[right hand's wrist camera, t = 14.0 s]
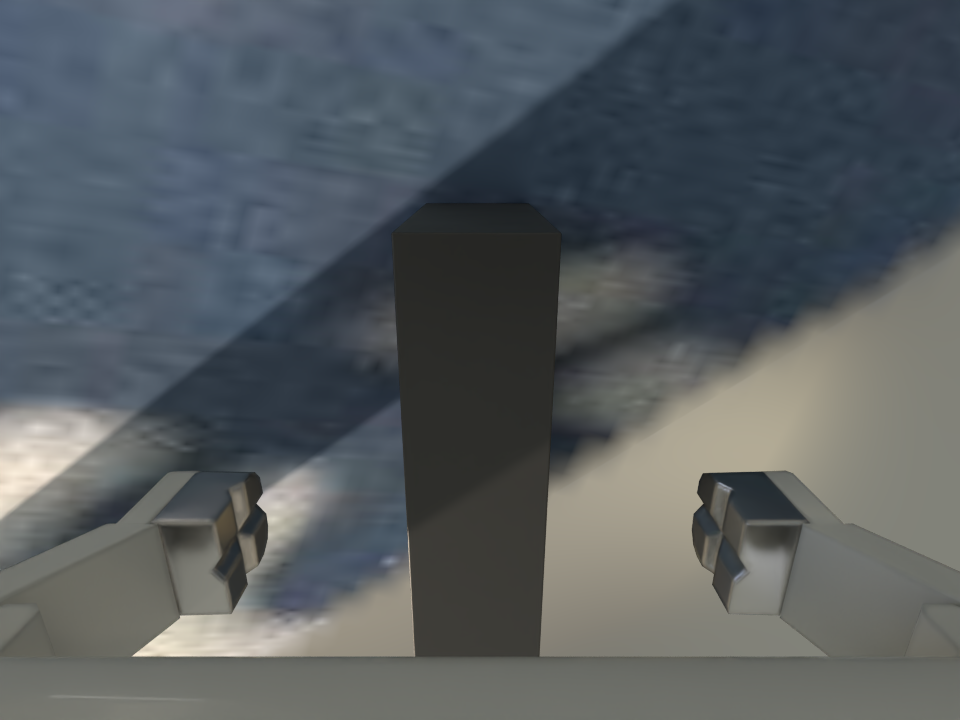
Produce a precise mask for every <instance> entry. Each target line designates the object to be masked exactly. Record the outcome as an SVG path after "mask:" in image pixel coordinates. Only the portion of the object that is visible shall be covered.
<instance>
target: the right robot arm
mask: <svg viewBox="0 0 960 720" xmlns="http://www.w3.org/2000/svg"><path fill="white" fill-rule="evenodd" d="M262 494H263V491H262V486H261V481H260V477H259V476H258V475H257V474H256V473H255V472H215V471H202V472H200V471H174V472H169V473H167V474H166V475H165V476H164V477H163V478H162V479H161V480H160V481H159V482H158V483H157V484H156V485H155V486H154V487H153V488H152V489H151V490H150V491H149V492H148V493H147V494H146V495H145V496H144V497H143V498H142V499H141V500H140V501H139V502H138V503H137V504H136V505H135V506H134V507H133V508H132V509H131V510H130V511H129V512H128V513H127V514H126V515H125V516H124V517H123V518H122V519H121V520H120V521H119V522H118V523H116V524H105V525H103V526H101V527H99V528H96V529H94V530H92V531H90V532H87V533H85V534H83V535H81V536H78V537H76V538H74V539H72V540H70V541H67V542H65V543H63V544H61V545H58V546H56V547H54V548H52V549H49V550H47V551H45V552H43V553H40V554H38V555H36V556H34V557H31V558H29V559H27V560H25V561H23V562H20V563H18V564H16V565H14V566H11V567H9V568H7V569H5V570H2V571H0V720H960V572H959V571H957V570H955V569H953V568H951V567H948V566H946V565H944V564H942V563H939V562H937V561H935V560H933V559H930V558H928V557H926V556H924V555H922V554H919V553H917V552H915V551H913V550H910V549H908V548H906V547H904V546H902V545H899V544H897V543H895V542H893V541H890V540H888V539H886V538H884V537H881V536H879V535H877V534H875V533H873V532H870V531H868V530H866V529H864V528H861V527H859V526H857V525H855V524H844V523H843V522H842V521H841V520H839V519H838V518H837V517H836V516H835V515H834V514H833V513H832V512H831V511H830V510H829V509H828V508H827V507H826V506H825V505H824V504H823V503H822V502H821V501H820V500H819V499H818V498H817V497H816V496H815V495H814V494H813V493H812V492H811V491H810V490H809V489H808V488H807V487H806V486H805V485H804V484H803V483H802V482H801V481H800V480H799V479H798V478H797V477H796V476H795V475H794V474H793V473H791V472H788V471H764V472H729V473H703V474H702V476H701V478H700V481H699V486H698V491H697V494H698V495H699V497H700V498H701V500H702V502H703V503H704V504H703V505H702V506H701V507H700V508H699V509H698V510H697V511H696V512H695V513H694V516H693V524H692V536H693V545H694V548H695V552H696V555H697V557H698V559H699V561H700V563H701V565H702V566H703V567H704V568H706V569H707V570H709V571H710V572H712V573H713V574H714V577H713V583H712V585H713V587H714V589H715V590H716V592H717V594H718V596H719V598H720V599H721V601H722V603H723V605H724V606H725V608H726V610H727V612H728V614H746V615H780V618H781V619H782V620H783V621H785V622H786V623H787V624H788V625H790V626H791V627H792V628H793V629H795V630H796V631H797V632H799V633H800V634H801V635H802V636H804V637H805V638H806V639H807V640H809V641H810V642H811V643H812V644H814V645H815V646H816V647H817V648H819V649H820V650H821V651H823V652H824V653H825V654H826V655H828V656H829V657H131V656H133V655H134V654H135V653H136V652H138V651H139V650H140V649H141V648H143V647H144V646H145V645H146V644H148V643H149V642H150V641H152V640H153V639H154V638H155V637H157V636H158V635H159V634H160V633H162V632H163V631H164V630H166V629H167V628H168V627H169V626H171V625H172V624H173V623H174V622H176V621H177V620H178V619H179V618H180V615H213V614H232V612H233V610H234V608H235V607H236V605H237V603H238V601H239V599H240V598H241V596H242V594H243V592H244V590H245V589H246V587H247V585H248V583H247V577H246V574H247V573H248V572H250V571H251V570H253V569H254V568H256V567H257V566H258V565H259V563H260V561H261V559H262V557H263V555H264V552H265V548H266V543H267V539H268V523H267V516H266V513H265V512H264V511H263V510H262V509H261V508H260V507H259V506H258V505H257V504H256V503H257V502H258V500H259V498H260V497H261V495H262Z"/></svg>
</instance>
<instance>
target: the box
mask: <svg viewBox="0 0 960 720" xmlns="http://www.w3.org/2000/svg"><path fill="white" fill-rule="evenodd" d="M560 252H561V233H560V232H559V231H558V230H557V229H556V228H555V227H554V226H553V225H552V224H550V223H549V222H548V221H547V220H546V219H545V218H544V217H543V216H542V215H541V214H540V213H538V212H537V211H536V210H535V209H534V208H533V207H532V206H531V205H530V204H526V203H426V204H425V205H424V206H423V207H422V208H420V209H419V210H418V211H417V212H416V213H415V214H413V215H412V216H411V217H410V218H409V219H408V220H406V221H405V222H404V223H403V224H402V225H401V226H399V227H398V228H397V229H396V230H395V231H394V232H392V253H393V272H394V290H395V309H396V327H397V346H398V364H399V383H400V402H401V420H402V439H403V457H404V476H405V494H406V513H407V531H408V550H409V569H410V587H411V606H412V624H413V643H414V657H539V654H540V635H541V616H542V597H543V578H544V558H545V539H546V520H547V501H548V482H549V463H550V444H551V424H552V405H553V386H554V367H555V348H556V329H557V310H558V290H559V271H560Z"/></svg>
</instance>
